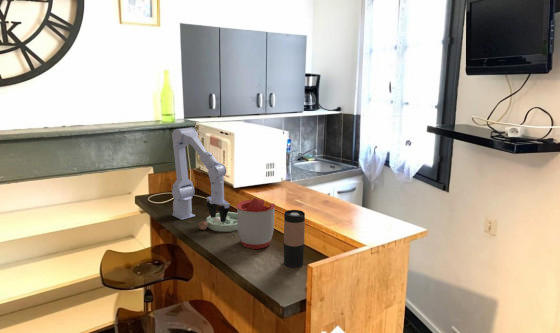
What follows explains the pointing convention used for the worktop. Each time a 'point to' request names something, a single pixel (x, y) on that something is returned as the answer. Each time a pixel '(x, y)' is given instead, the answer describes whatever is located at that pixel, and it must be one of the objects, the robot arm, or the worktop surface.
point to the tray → (224, 223)
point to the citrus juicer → (255, 223)
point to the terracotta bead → (203, 225)
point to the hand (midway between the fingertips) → (218, 219)
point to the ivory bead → (217, 220)
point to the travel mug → (294, 238)
